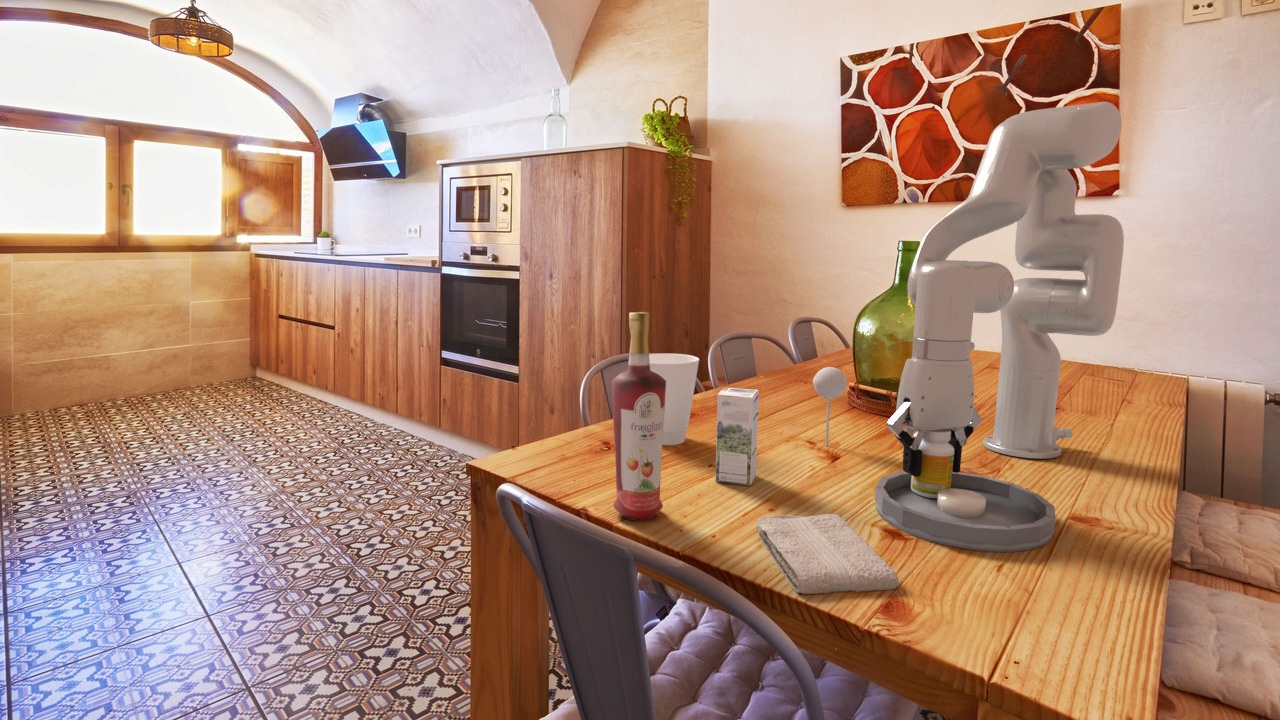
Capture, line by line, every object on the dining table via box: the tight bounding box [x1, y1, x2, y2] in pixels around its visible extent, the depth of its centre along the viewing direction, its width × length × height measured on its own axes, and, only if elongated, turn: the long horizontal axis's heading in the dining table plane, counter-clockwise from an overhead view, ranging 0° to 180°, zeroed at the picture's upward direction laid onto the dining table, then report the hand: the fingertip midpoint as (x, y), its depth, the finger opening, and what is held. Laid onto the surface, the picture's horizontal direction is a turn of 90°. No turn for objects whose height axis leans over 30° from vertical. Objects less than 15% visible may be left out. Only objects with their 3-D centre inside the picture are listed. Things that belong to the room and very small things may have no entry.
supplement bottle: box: [911, 429, 954, 498], centre depth 99 cm, size 5×5×10 cm
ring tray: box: [874, 471, 1057, 553], centre depth 93 cm, size 22×22×3 cm
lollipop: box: [812, 366, 848, 447], centre depth 125 cm, size 6×6×15 cm
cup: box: [649, 352, 700, 446], centre depth 128 cm, size 12×12×16 cm
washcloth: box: [755, 513, 900, 595], centre depth 81 cm, size 12×18×3 cm, turn 7°
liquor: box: [611, 311, 666, 521], centre depth 91 cm, size 7×7×28 cm
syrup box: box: [715, 387, 760, 487], centre depth 107 cm, size 6×6×14 cm
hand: (931, 470), depth 99 cm, fingers open, 6 cm apart
